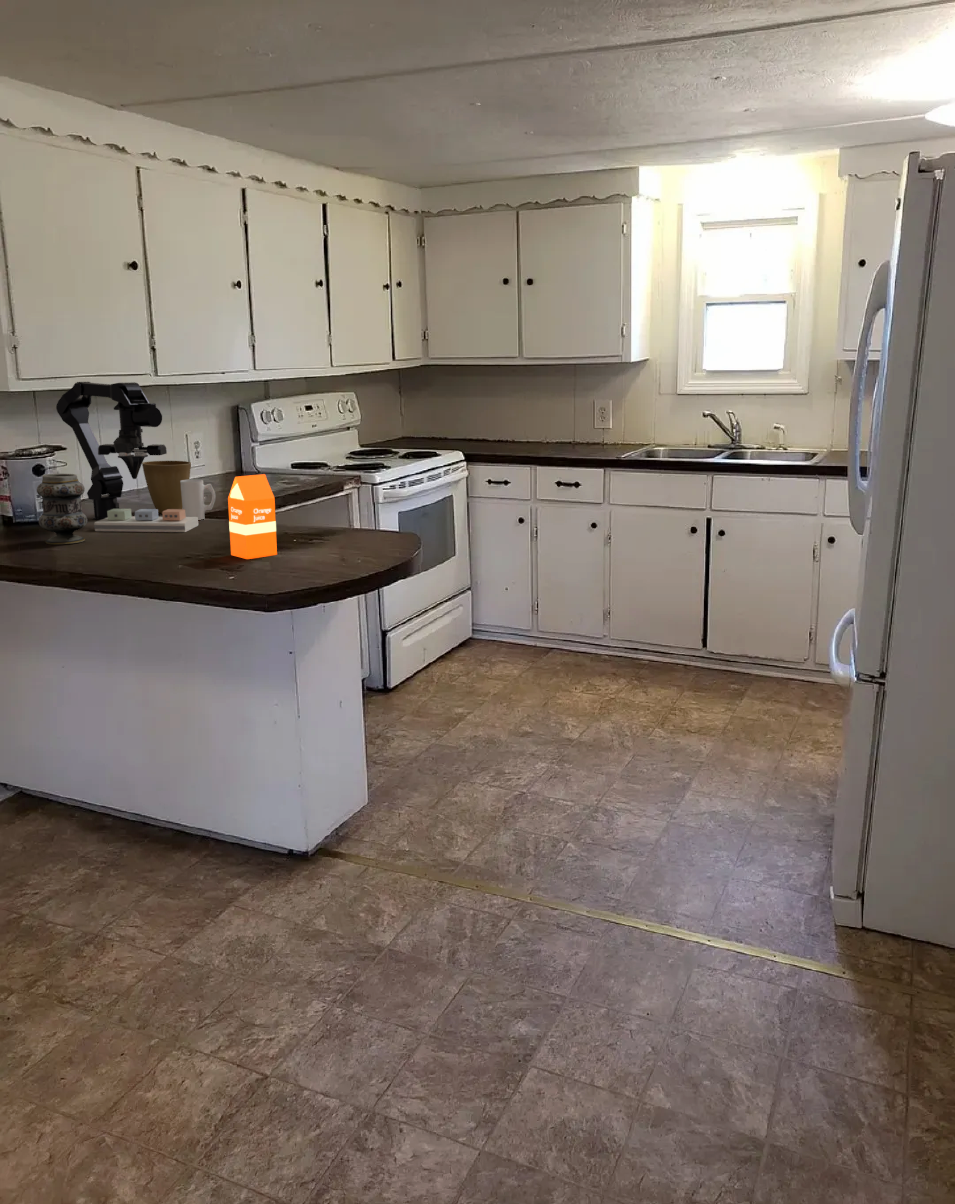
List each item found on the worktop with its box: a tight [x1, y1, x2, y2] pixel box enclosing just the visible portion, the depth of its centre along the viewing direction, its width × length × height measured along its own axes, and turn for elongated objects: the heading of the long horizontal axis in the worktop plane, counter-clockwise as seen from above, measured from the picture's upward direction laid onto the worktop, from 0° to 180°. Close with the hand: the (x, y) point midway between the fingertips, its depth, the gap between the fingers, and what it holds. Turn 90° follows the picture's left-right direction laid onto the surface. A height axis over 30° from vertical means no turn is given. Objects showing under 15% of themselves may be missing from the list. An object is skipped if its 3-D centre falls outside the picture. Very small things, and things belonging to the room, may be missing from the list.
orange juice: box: [227, 473, 278, 560], centre depth 245 cm, size 8×9×20 cm
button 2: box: [134, 508, 160, 520], centre depth 284 cm, size 5×5×2 cm
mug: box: [180, 478, 216, 521], centre depth 300 cm, size 10×7×12 cm, turn 107°
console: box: [93, 515, 199, 533], centre depth 285 cm, size 26×12×2 cm, turn 88°
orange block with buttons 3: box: [161, 508, 186, 521], centre depth 284 cm, size 5×5×2 cm
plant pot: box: [141, 460, 192, 514], centre depth 313 cm, size 15×15×16 cm
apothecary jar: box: [36, 473, 89, 546], centre depth 261 cm, size 12×12×18 cm
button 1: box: [107, 508, 133, 520], centre depth 284 cm, size 5×5×2 cm
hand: (134, 478), depth 293 cm, fingers closed
